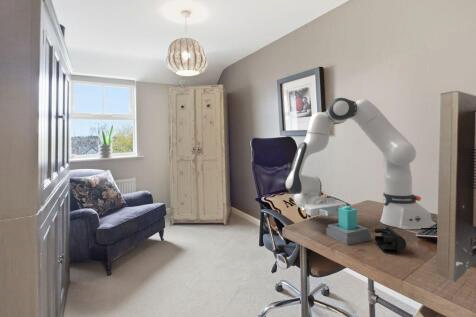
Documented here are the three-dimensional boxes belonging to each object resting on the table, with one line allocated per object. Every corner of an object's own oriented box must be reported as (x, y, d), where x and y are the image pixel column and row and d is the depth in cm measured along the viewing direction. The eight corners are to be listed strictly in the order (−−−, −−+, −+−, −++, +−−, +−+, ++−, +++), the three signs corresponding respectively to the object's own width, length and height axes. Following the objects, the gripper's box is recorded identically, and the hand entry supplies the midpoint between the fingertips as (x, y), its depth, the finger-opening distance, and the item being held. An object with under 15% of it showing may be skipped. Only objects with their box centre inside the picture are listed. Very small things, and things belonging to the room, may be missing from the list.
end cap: (406, 254, 91) (406, 236, 90) (384, 254, 92) (384, 235, 91) (393, 243, 101) (394, 226, 100) (374, 242, 102) (374, 226, 101)
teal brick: (348, 227, 111) (347, 204, 110) (357, 231, 106) (357, 207, 106) (338, 229, 109) (338, 205, 109) (347, 233, 105) (347, 208, 104)
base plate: (348, 230, 116) (348, 220, 115) (370, 239, 105) (370, 228, 104) (326, 234, 112) (326, 224, 111) (347, 245, 100) (346, 233, 100)
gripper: (299, 201, 122) (317, 208, 109) (334, 196, 129) (355, 202, 116) (299, 214, 122) (318, 223, 109) (334, 209, 129) (355, 216, 116)
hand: (337, 212), depth 113 cm, fingers open, 8 cm apart
